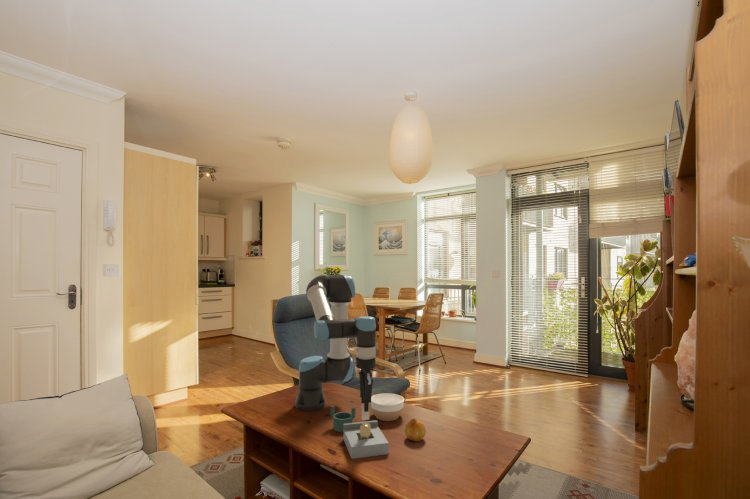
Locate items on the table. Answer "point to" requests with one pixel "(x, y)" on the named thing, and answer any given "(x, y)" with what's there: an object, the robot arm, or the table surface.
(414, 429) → the fruit
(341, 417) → the bracket
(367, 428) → the brass cylinder
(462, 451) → the table surface
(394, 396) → the bowl
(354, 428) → the jig
